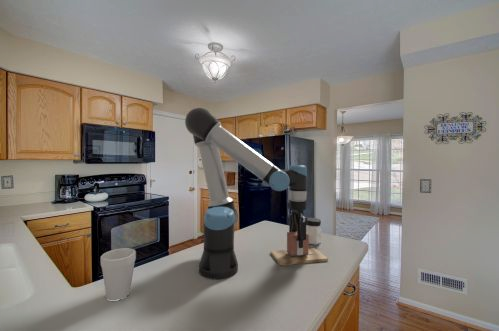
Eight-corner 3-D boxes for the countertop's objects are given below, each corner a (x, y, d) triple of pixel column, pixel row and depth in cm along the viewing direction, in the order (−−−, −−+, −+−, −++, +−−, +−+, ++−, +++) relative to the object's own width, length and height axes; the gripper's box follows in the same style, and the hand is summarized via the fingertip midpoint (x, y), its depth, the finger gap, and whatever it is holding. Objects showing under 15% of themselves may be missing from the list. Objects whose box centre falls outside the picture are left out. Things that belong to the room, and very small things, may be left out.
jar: (314, 246, 116) (315, 222, 116) (301, 241, 122) (301, 219, 121) (323, 241, 122) (324, 219, 122) (310, 238, 128) (310, 216, 128)
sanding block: (291, 256, 98) (291, 235, 98) (287, 252, 103) (287, 232, 103) (308, 254, 100) (308, 234, 100) (303, 250, 105) (303, 231, 105)
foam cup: (127, 283, 77) (128, 245, 77) (140, 294, 72) (141, 253, 71) (95, 296, 70) (95, 254, 70) (106, 309, 64) (107, 263, 64)
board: (279, 265, 93) (279, 262, 93) (270, 253, 105) (270, 251, 105) (327, 261, 98) (328, 258, 98) (314, 250, 110) (314, 247, 110)
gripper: (315, 203, 93) (314, 260, 93) (296, 196, 111) (296, 244, 111) (298, 204, 91) (297, 261, 92) (282, 196, 109) (281, 245, 109)
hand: (296, 251), depth 101 cm, fingers closed on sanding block, 5 cm apart
